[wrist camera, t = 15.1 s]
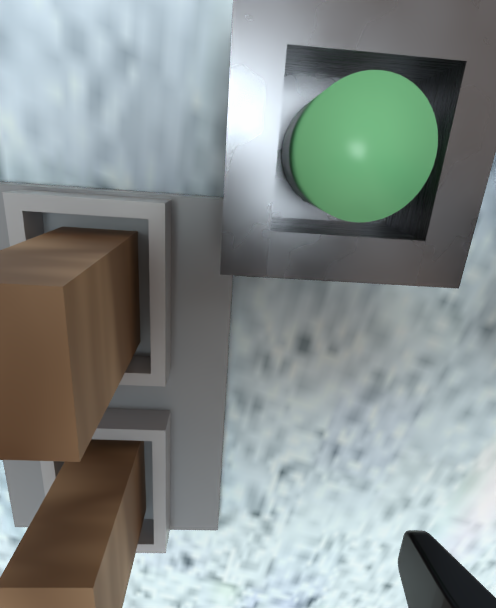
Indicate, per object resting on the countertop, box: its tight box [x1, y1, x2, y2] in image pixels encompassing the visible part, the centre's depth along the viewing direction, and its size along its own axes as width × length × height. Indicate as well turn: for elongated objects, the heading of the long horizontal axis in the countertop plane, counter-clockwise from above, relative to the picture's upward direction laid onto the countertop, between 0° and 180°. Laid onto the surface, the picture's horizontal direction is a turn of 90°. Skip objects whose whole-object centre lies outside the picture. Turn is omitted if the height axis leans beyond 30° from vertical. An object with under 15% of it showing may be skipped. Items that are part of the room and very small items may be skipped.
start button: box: [282, 70, 438, 222], centre depth 13 cm, size 4×4×4 cm
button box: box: [220, 0, 496, 288], centre depth 14 cm, size 8×8×5 cm
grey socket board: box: [0, 182, 233, 553], centre depth 18 cm, size 11×18×2 cm, turn 176°
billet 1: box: [0, 227, 141, 462], centre depth 13 cm, size 3×5×8 cm, turn 176°
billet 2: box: [0, 439, 146, 608], centre depth 17 cm, size 3×5×8 cm, turn 176°
